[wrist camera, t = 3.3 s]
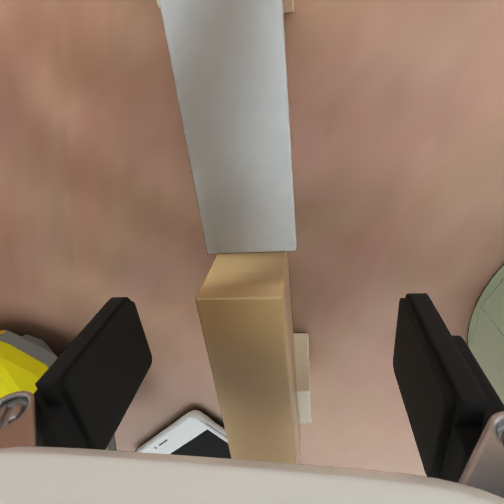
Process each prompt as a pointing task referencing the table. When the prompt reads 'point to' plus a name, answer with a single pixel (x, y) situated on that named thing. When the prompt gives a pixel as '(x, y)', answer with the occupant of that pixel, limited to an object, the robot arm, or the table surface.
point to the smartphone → (190, 438)
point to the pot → (490, 332)
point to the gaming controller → (25, 365)
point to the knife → (242, 210)
